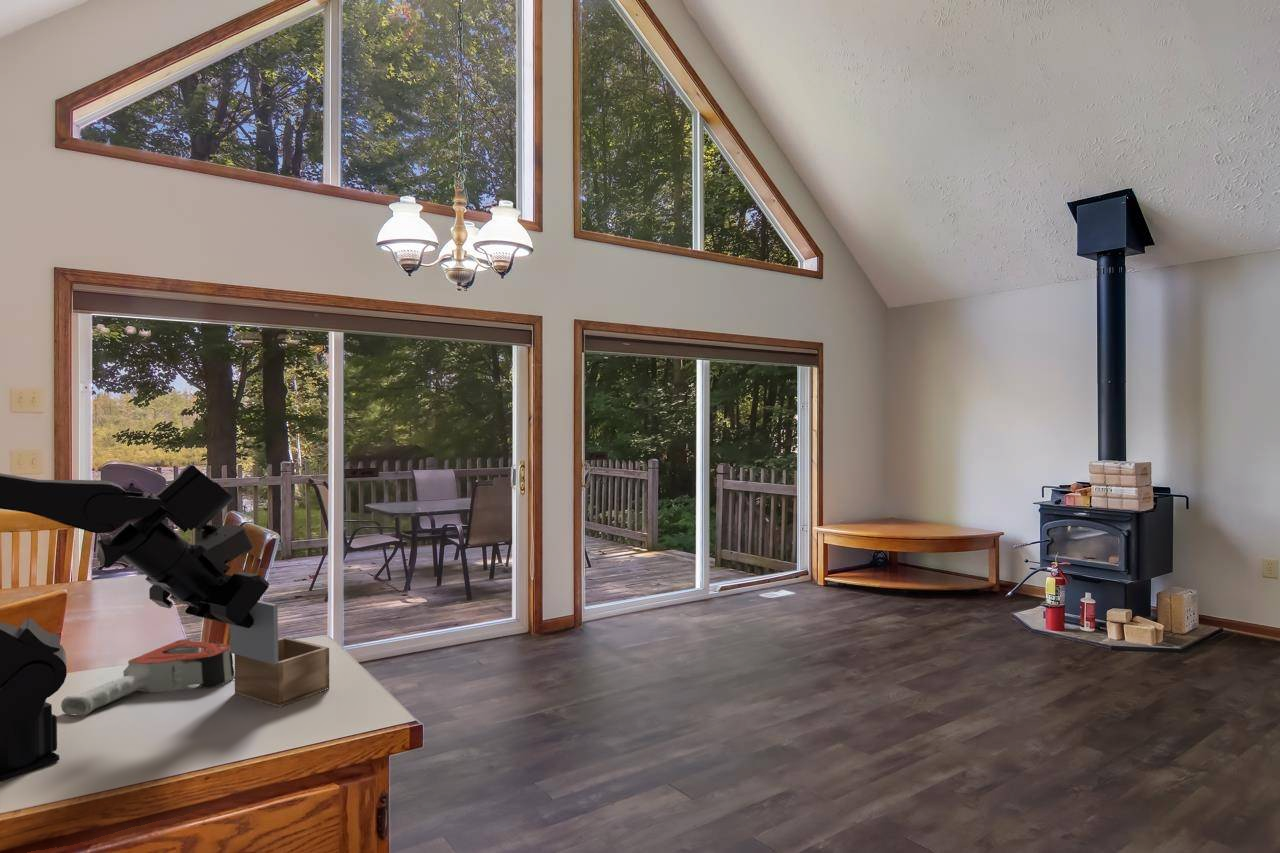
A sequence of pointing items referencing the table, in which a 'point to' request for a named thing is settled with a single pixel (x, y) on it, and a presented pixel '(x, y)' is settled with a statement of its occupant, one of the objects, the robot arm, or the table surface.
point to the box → (284, 673)
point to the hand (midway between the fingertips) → (250, 624)
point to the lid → (258, 635)
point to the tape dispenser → (161, 674)
